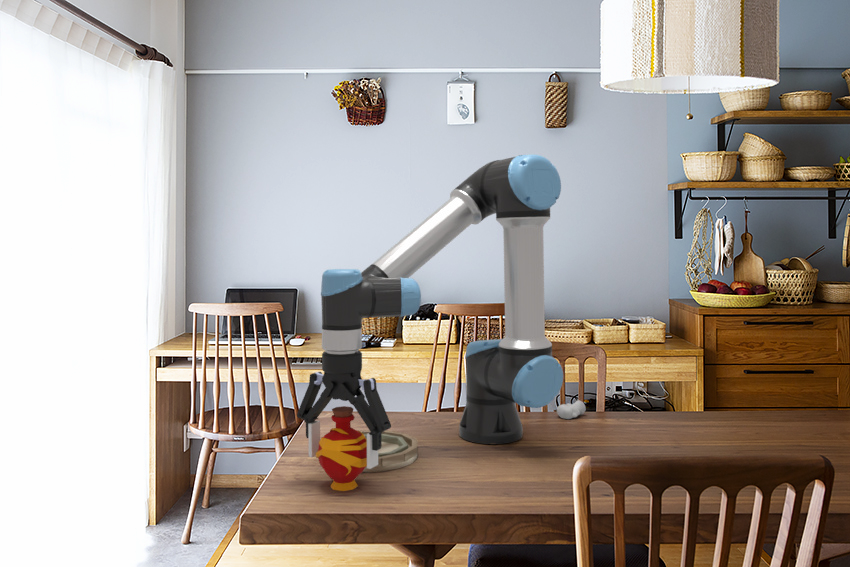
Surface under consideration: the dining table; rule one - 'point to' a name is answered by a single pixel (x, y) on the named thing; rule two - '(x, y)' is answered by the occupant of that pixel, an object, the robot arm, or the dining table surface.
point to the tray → (394, 451)
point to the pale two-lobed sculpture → (571, 410)
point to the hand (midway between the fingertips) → (342, 460)
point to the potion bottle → (343, 451)
